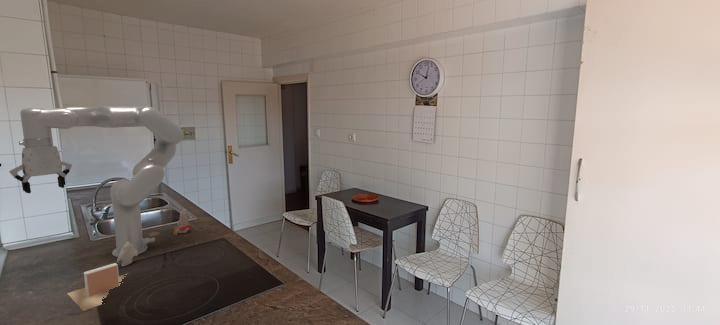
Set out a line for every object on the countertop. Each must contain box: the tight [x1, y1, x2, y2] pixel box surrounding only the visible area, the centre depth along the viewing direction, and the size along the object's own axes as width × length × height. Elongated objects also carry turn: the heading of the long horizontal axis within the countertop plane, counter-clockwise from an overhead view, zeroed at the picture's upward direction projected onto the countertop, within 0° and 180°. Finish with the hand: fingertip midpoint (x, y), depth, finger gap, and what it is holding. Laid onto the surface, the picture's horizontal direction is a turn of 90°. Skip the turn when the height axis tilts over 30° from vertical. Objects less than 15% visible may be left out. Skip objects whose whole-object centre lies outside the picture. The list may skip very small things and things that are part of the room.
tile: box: [83, 262, 120, 297], centre depth 117 cm, size 9×2×8 cm, turn 144°
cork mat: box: [66, 273, 128, 312], centre depth 118 cm, size 18×16×1 cm
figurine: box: [173, 209, 192, 236], centre depth 173 cm, size 9×7×12 cm
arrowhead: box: [116, 242, 139, 267], centre depth 136 cm, size 8×3×10 cm, turn 154°
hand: (45, 189), depth 127 cm, fingers open, 9 cm apart
